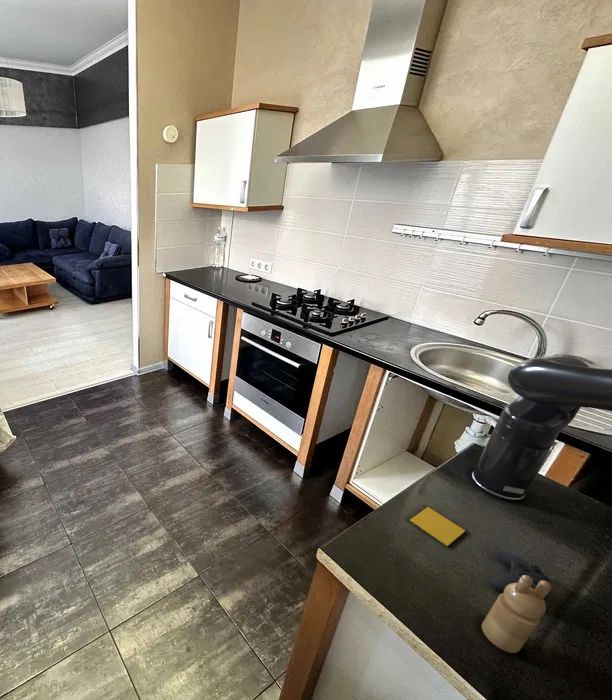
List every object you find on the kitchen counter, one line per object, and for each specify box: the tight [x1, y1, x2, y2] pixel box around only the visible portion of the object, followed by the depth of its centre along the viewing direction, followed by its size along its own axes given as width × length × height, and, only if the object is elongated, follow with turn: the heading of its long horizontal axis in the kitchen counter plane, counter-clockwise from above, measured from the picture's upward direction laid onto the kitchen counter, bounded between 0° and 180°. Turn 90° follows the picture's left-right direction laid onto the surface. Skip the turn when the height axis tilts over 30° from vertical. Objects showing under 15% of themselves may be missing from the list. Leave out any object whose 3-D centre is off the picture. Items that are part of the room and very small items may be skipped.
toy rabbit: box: [481, 575, 552, 654], centre depth 56 cm, size 5×5×13 cm
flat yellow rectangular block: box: [409, 506, 466, 547], centre depth 77 cm, size 7×7×1 cm
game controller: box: [490, 550, 550, 602], centre depth 65 cm, size 10×5×6 cm
